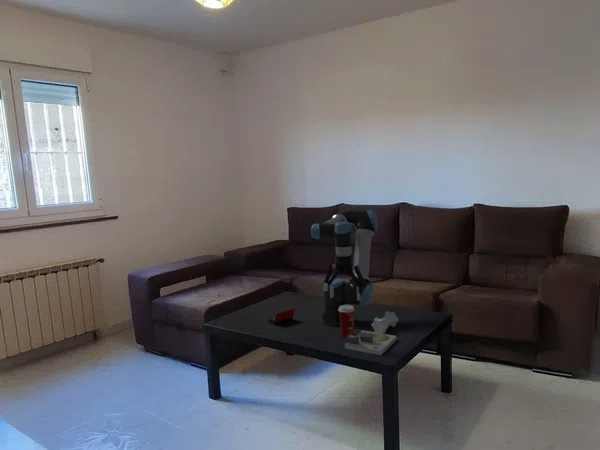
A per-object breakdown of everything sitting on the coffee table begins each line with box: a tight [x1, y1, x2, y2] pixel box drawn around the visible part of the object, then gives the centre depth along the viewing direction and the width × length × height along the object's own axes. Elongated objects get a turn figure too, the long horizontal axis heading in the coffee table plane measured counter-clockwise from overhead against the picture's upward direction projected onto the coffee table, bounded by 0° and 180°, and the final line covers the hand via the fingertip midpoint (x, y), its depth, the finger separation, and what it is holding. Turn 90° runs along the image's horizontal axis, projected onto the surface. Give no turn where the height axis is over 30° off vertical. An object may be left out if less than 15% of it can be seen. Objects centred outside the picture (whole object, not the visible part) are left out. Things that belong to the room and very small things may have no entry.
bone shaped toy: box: [371, 310, 400, 334], centre depth 235 cm, size 15×9×8 cm, turn 142°
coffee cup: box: [338, 304, 356, 339], centre depth 229 cm, size 8×8×15 cm
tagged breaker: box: [345, 334, 359, 345], centre depth 214 cm, size 5×3×3 cm, turn 58°
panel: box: [344, 330, 397, 356], centre depth 217 cm, size 18×20×5 cm
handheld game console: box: [267, 308, 296, 326], centre depth 255 cm, size 12×11×7 cm
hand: (345, 298), depth 217 cm, fingers open, 13 cm apart
